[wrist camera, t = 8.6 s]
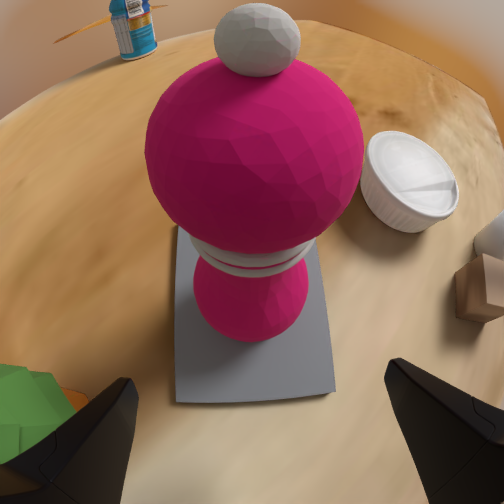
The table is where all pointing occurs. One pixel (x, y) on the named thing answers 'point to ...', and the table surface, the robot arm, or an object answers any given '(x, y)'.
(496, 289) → the walnut block
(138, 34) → the beverage bottle
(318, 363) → the slate board
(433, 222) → the ramekin
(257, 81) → the pepper mill
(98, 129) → the table surface
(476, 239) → the grey canister
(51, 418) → the decorative tree
